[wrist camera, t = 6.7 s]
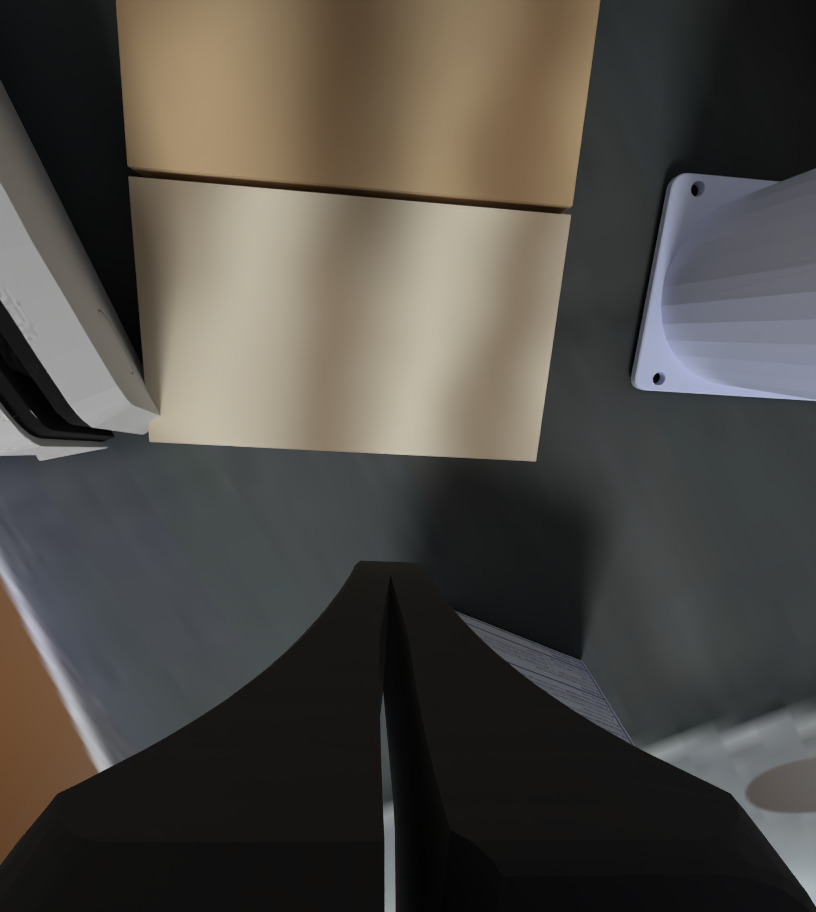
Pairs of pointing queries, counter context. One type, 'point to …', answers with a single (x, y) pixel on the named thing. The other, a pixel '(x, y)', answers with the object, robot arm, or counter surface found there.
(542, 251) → the floor board
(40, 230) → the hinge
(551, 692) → the grey wood grain block
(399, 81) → the plank
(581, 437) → the counter surface
